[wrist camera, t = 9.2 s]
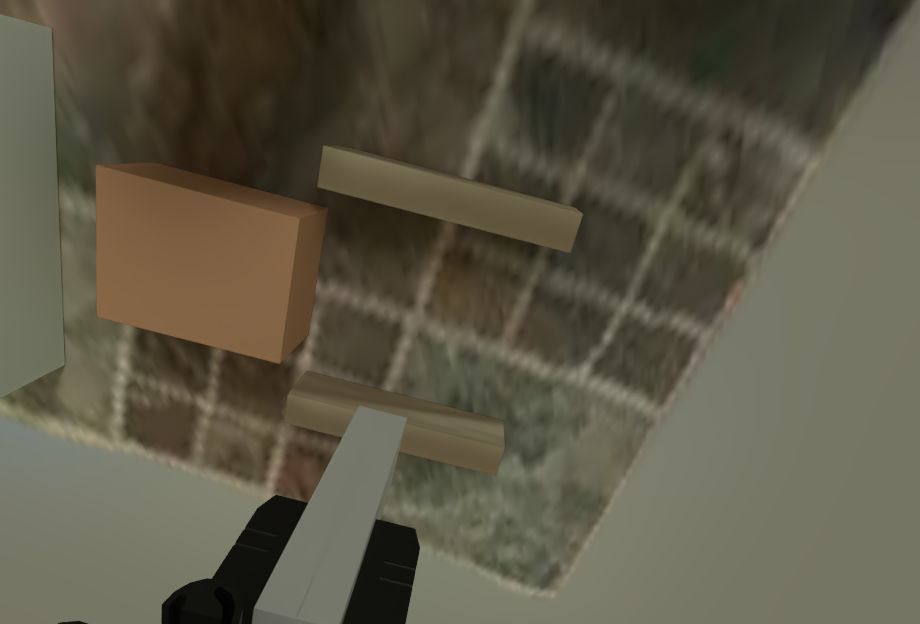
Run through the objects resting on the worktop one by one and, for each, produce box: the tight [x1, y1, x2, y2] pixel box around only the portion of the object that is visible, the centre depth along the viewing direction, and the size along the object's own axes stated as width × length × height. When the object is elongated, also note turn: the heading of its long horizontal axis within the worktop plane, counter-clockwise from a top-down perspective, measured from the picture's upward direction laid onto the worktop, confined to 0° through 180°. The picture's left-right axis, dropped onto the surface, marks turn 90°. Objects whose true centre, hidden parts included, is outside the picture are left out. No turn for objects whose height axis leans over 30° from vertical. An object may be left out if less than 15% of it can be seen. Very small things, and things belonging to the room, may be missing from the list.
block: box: [96, 162, 328, 364], centre depth 26 cm, size 8×10×4 cm
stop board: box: [0, 14, 65, 398], centre depth 26 cm, size 20×1×5 cm, turn 166°
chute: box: [284, 146, 583, 476], centre depth 27 cm, size 16×13×3 cm
